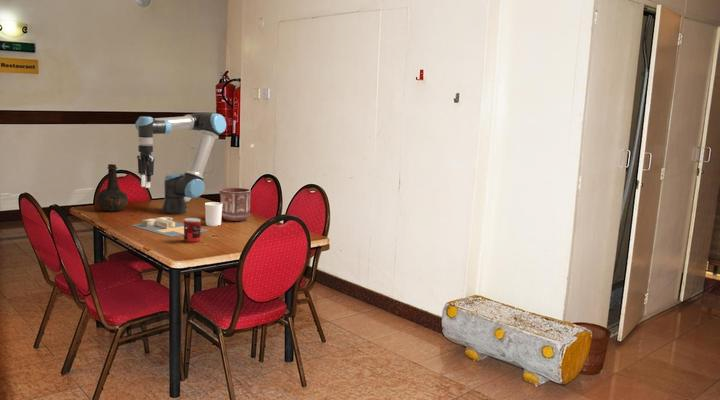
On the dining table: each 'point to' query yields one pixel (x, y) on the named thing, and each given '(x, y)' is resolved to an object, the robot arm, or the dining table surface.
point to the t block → (159, 222)
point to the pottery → (235, 203)
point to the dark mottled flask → (112, 193)
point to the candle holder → (213, 213)
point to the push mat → (167, 232)
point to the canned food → (192, 230)
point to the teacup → (187, 199)
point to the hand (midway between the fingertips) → (145, 187)
